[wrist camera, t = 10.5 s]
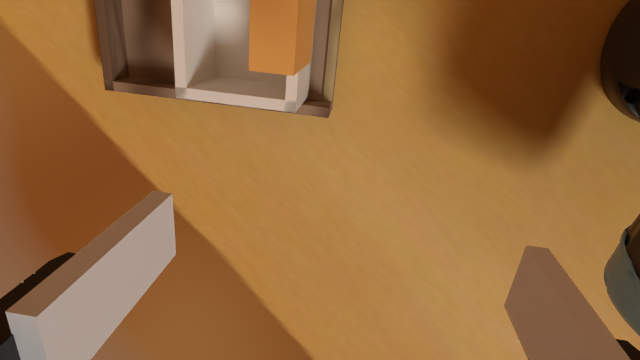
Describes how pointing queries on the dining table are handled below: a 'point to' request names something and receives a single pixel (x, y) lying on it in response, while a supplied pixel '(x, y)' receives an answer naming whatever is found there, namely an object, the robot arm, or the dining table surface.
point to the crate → (244, 51)
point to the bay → (158, 56)
